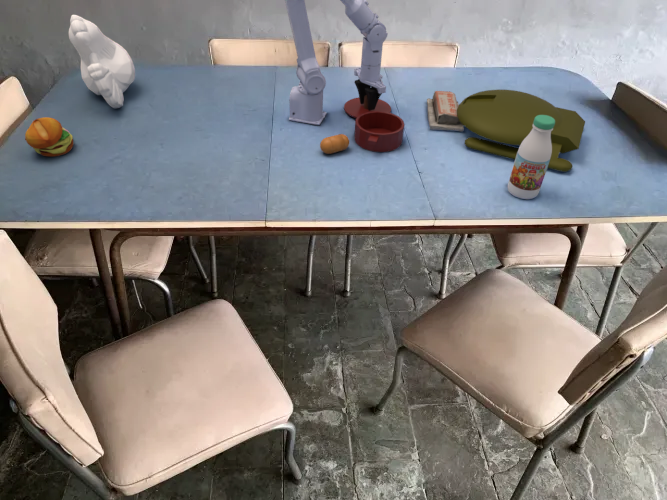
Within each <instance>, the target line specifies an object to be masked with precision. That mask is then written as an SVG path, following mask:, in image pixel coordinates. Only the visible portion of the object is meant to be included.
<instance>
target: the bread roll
mask: <svg viewBox="0 0 667 500" xmlns="http://www.w3.org/2000/svg"><path fill="white" fill-rule="evenodd" d="M349 146H350V138H349V137H348V136H347V135H346V134H344V133H339V134H335V135H330V136H327V137H324V138H322V140H321V141H320V144H319V148H320V150H321V152H322V153H324V154H327V155H330V154H334V153H338V152H342V151H345V150H347V149H348V148H349Z"/></svg>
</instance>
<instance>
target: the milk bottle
mask: <svg viewBox="0 0 667 500" xmlns="http://www.w3.org/2000/svg"><path fill="white" fill-rule="evenodd" d="M554 125H555V119H554V118H552V117H550V116H547V115H538V116H536V117H535V119H534V122H533V129H532V130H531V132H530V133H529V134H528V136H527V137H526V138H525V139H524V140H523V141H522V143H521V145H519V147H518V148H519V149H518V152H517V155H516V158H515V160H514V162H513V165H512V169H511V171H510V176H509V179H508V181H507V191H508V193H510V194H511V195H512V196H513V197H516V198H518V199H522V200H532V199H534V198H536V197H537V196H538V195H539V193H540V190H541V188H542V185H543V182H544V180H545V177H546V173H547V171H548V168H547V167H548V164H549V161H550V158H551V153H552V144H551V131H552V130H553V127H554Z"/></svg>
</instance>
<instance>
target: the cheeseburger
mask: <svg viewBox="0 0 667 500" xmlns="http://www.w3.org/2000/svg"><path fill="white" fill-rule="evenodd" d="M73 138H74V136H73V134H71V133H70V131H69V130H68V129H66V128H64V127H63V126H62V123H61V122H60V121H59V120H57V119H55V118H53V117H48V116H47V117H46V116H45V117H39V118H36V119H34V120H32V122H31V124H30V125H29V127H28V128H27V130H25V134H24V140H25V141H26V144H27V145H28V146H30V148H32V149H33V150H34V151H35V152H36V153H37V154H40V155H41V156H43V157H60V156H62V155H66V154H68V153H69V152H70V151H71V150H72V149H73V147H74V139H73Z"/></svg>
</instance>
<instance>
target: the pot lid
mask: <svg viewBox="0 0 667 500" xmlns="http://www.w3.org/2000/svg"><path fill="white" fill-rule="evenodd" d="M383 109H384V110H390V111H391V112H390V113H392V107H391V105H390V104H389V103H388V102H387V101H385V100H383V99H380V98H379V99H378V102H377V104H376V107H375V109H374V110H368V100H367V95H365V97H364V104H360V99H359V96H358V97H354V98H351V99H349V100H347V101H346V102H345V103H344V105H343V110H344V112H345V114H347V115H348V116H350V117H352V118H354V119H357V117H358V116H359V115H361V114H363V113H366V112H371V111H382V110H383Z"/></svg>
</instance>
